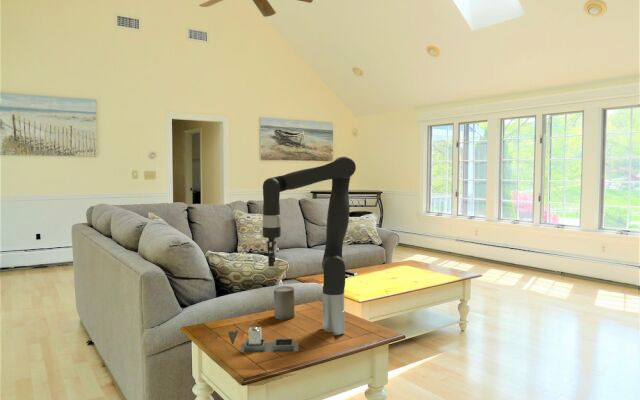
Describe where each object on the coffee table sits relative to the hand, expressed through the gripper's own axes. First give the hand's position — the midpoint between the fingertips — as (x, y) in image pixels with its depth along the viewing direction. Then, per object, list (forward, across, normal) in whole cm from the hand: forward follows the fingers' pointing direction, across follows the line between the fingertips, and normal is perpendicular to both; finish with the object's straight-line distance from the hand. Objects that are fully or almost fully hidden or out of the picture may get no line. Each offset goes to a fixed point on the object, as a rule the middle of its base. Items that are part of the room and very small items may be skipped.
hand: (271, 264), depth 196 cm
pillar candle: (+30, +24, -4) cm, 39 cm away
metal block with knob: (+28, -18, +6) cm, 34 cm away
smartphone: (+31, -2, +14) cm, 34 cm away
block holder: (+30, -18, 0) cm, 35 cm away
